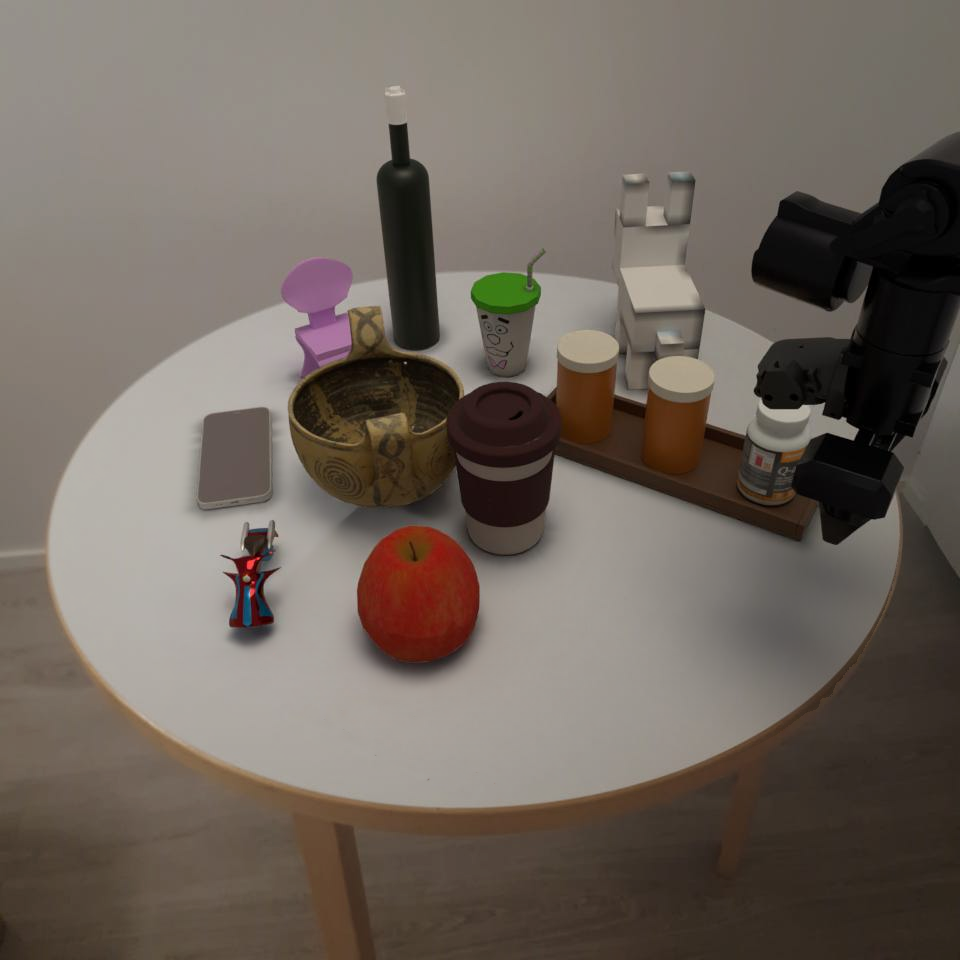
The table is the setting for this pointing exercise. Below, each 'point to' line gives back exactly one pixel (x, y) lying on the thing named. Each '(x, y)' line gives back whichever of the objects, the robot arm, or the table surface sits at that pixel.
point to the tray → (701, 485)
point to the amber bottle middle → (676, 413)
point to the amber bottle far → (586, 385)
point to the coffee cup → (504, 463)
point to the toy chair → (320, 309)
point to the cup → (507, 318)
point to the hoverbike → (252, 578)
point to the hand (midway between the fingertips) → (847, 505)
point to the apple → (418, 595)
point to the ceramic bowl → (375, 420)
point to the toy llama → (654, 276)
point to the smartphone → (235, 458)
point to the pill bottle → (773, 453)
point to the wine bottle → (407, 235)
